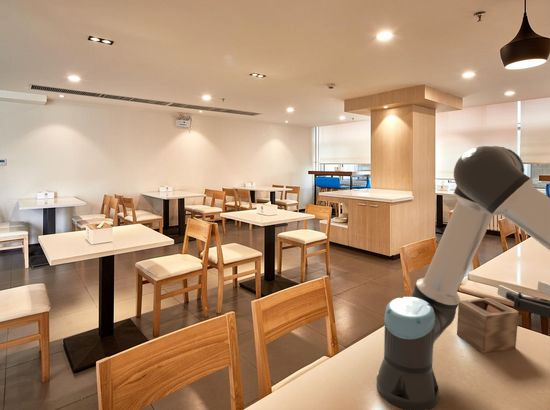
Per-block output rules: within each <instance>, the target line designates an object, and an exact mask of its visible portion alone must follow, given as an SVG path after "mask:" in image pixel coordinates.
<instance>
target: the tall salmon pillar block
mask: <svg viewBox="0 0 550 410" xmlns="http://www.w3.org/2000/svg"><path fill="white" fill-rule="evenodd" d="M486 311H487V312H489V313H497V312H502V311H501V310H499V309H497V308H495V307H493V306H490V305H488V307H487V309H486Z"/></svg>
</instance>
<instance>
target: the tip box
mask: <svg viewBox="0 0 550 410" xmlns="http://www.w3.org/2000/svg"><path fill="white" fill-rule="evenodd" d="M488 305H490V306H493V307H495V308H497V309H499V310H501V311H502V312H497V313H489V312H487V311H486V309H487V307H488ZM518 322H519V311H517V310H515V309H513V308H512V307H509V306H507V305H505V304H503V303H501V302H500V301H497V300H495V299H492V297H491V298H490V297H486V298H485V297H484V298H476V299H474V298H473V299H468V300H467V299H465V300H460V302H459V304H458V306H457V322H456V324H457V326H456V335H457V336H458V337H459V338H461V339H462V340H463V341H465V342H466V343H468V344H469V345H471V346H472V347H474V348H475V349H476V350H478V351H479V352H481V353H491V352H497V351H499V352H500V351H504V350H510V349H512V350H513V349H517V347H516V346H517V335H518V334H517V333H518Z"/></svg>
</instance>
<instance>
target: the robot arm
mask: <svg viewBox="0 0 550 410" xmlns="http://www.w3.org/2000/svg"><path fill="white" fill-rule="evenodd" d="M453 179H454V183H455V184H456V187H455V190H454V192H453V196H455V198H456V203H455V206H454V208H453V211H452V213H451V214H450V217H449V218H448V222H447V224H446V226H445V229H444V230H443V231H444V232H443V233H442V236H441V239H440V241H439V243H438V245H437V248H436V250H435V252H434V255H433V257H432V259H431V261H430V264H429V266H428V269H427V271H426V273H425V276H424V277H421V278H418V279H417V280H416V282H415V284H414V286H413V289H412V291H411V293H410V295H409V296H403V297H396V298H394V299H392V300H390V301H389V302H388V303H387V305H386V307H385V313H384V315H383V316H384V317H383V320H384V321H383V322H384V334H383V335H384V341H383V343H384V344H383V345H384V347H383V349H384V350H383V360H382V361H381V364H380V367H379V369H378V371H377V373H376V374H377V375H376V383H375V384H376V389H377V391H378V394H380V396H381V397H382V398H383V399H384V400H386V401H387V402H388V403H390V404H392V405H393V406H396V407H398V408H400V409H404V410H431V409H432V408H434V407H435V406H436V405H438V403H439V396H440V387H439V385H438V381H437V377H436V375H435V371H434V369H433V361H434V356H433V355H434V345H435V342H436V341H437V340H438V339H439V338H440V336H441V335H442V334H443V333H444V332H445V331H446V329H447V328H448V327H449V326H450V325H452V323H453V321H454V319H455V318H456V315H457V314H456V313H457V309H458V305H459V302H460V301H461V297H460V295H459V294H458V291H459V289H460V287H461V285H462V282H463V280H464V279H465V276H466V274H467V272H468V270H469V268H470V266H471V263H472V261H473V259H474V258H475V255H476V253H477V251H478V249H479V247H480V245H481V243H482V241H483V238H484V237H485V235H486V233H487V230H488V227H489V226H490V223H491V222H492V220H493V218H494V216H503V217H504V218H506V219H507V220H508V221H509V222H511V223H512V224H513V225H515V226H516V227H518V228H519V229H520V230H521V231H523V232H525V234H527V235H529V236H530V237H531V238H533V239H534V240H535V241H537V242H538V244H541V246H543V247H545V248H546V249H547V250H548V251H550V197H549V196H547V195H546V194H544V193H543V192H542V191H540V190H539V189H537V188H535V187H534V182H533V181H534V180H533V179H532V178H531V177H530V176H528V175H526V174H525V165H524V163H523V159H522V158H520V155H519V154H517V153H516V152H515V151H513V150H512V149H509V148H506V147H504V146H499V145H497V146H496V145H493V146H490V145H481V146H478V147H474V148H470V149H469V150H467V151H466V152H464V153H463V154H462V155H461V156H460V157H459V158H458V159H457V161H456V163H455V165H454V168H453ZM536 290H537V291H538V292H540V293H541V292H542V293H544V294H546V295H549V296H550V283H549V282H545V281H543V280H538V281H537V287H536ZM497 295H498V296H500V297H502V298H504V299H506V300H509V301H511V302H513V308H514V309H517V310H520V311H524V312H527V313H530V314H534V315H538V316H539V317H540V316H541V317H545V318H547V319H550V301H547V300H542V299H537V298H532V297H528V296H523V294H522V293H521V292H518V291H515V290H513V289H512V288H509V287H506V286H504V285H501V284H498V287H497Z"/></svg>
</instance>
